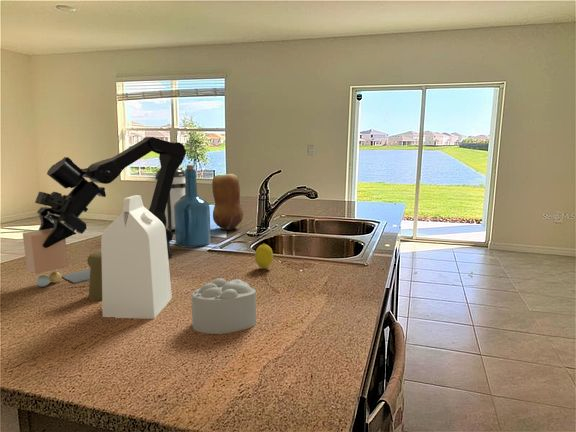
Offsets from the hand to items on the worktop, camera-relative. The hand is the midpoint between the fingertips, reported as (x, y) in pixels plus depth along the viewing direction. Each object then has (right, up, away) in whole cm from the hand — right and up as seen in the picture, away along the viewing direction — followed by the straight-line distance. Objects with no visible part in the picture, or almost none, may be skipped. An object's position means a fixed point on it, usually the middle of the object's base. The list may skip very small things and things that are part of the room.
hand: (39, 245), depth 106 cm
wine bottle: (+29, -3, +48) cm, 57 cm away
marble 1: (0, -11, +1) cm, 11 cm away
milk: (+31, -14, -12) cm, 36 cm away
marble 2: (+2, -11, +5) cm, 12 cm away
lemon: (+58, -9, +18) cm, 61 cm away
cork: (+19, -13, -5) cm, 23 cm away
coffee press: (+15, +1, +74) cm, 75 cm away
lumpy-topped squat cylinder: (+52, -15, -20) cm, 57 cm away
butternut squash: (+39, +1, +75) cm, 84 cm away
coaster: (+7, -10, +11) cm, 16 cm away
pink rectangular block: (+1, -6, +2) cm, 7 cm away
